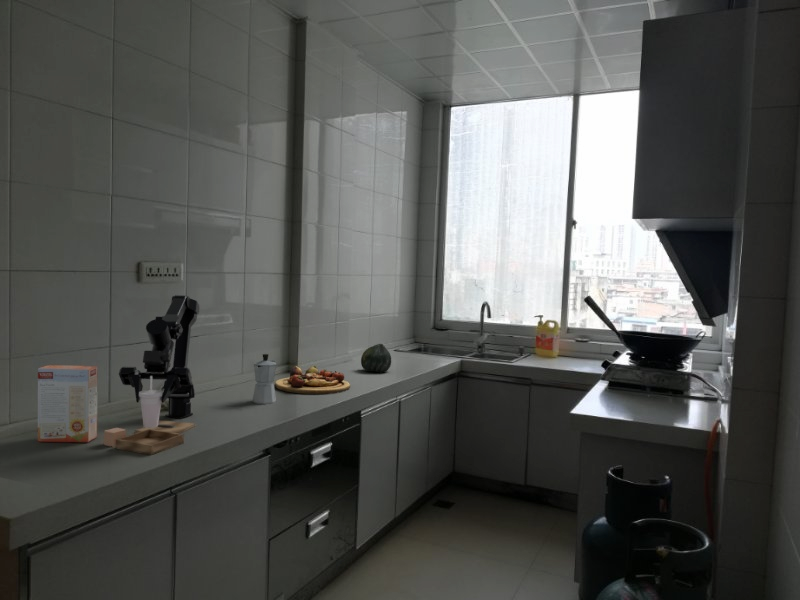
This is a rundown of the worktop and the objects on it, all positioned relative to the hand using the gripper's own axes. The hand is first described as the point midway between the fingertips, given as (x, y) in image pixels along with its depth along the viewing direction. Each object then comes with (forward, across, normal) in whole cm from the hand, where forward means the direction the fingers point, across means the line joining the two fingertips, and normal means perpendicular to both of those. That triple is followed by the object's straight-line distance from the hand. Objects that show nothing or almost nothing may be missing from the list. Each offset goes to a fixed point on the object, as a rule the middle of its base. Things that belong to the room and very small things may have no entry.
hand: (149, 401), depth 167 cm
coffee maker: (-32, +26, +51) cm, 66 cm away
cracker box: (+4, -24, +14) cm, 28 cm away
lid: (-4, 0, +22) cm, 22 cm away
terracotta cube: (+4, -10, +8) cm, 14 cm away
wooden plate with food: (-51, +43, +72) cm, 98 cm away
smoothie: (+4, 0, +6) cm, 7 cm away
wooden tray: (+8, 0, +10) cm, 13 cm away
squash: (-80, +74, +100) cm, 148 cm away
